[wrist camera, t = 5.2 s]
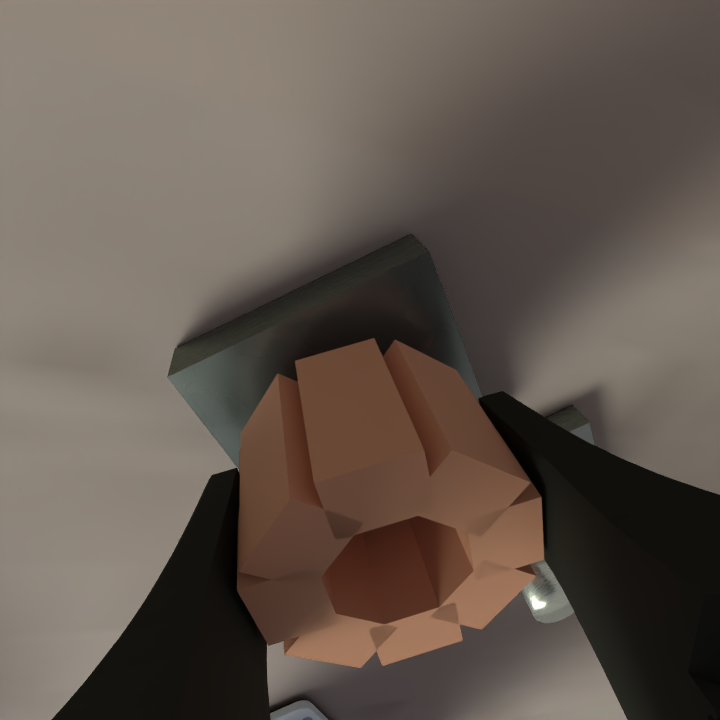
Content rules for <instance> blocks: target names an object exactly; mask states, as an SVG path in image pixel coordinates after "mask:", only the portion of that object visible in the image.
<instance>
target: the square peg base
mask: <svg viewBox="0 0 720 720" xmlns="http://www.w3.org/2000/svg"><path fill="white" fill-rule="evenodd" d="M373 338H374V339H375V341H376V343H377V345H378V347H379V350H380V352H381V354H382V356H384V355H385V353H386V352H387V350H388V349H389V347H390V346H391V344H392V343H393V342H394V340H397V341H399V342H401V343H403V344H405V345H407V346H409V347H411V348H413V349H415V350H417V351H419V352H421V353H423V354H425V355H427V356H429V357H431V358H433V359H435V360H437V361H439V362H441V363H443V364H445V365H447V366H449V367H451V368H453V369H455V370H457V372H458V373H459V375H460V376H461V378H462V379H463V381H464V382H465V383H466V384H467V385H468V387H469V388H470V390H471V391H472V393H473V394H474V396H475V397H476V399H477V400H478V402H479V398H480V397H483V396H482V394H481V391H480V388H479V385H478V383H477V380H476V377H475V375H474V372H473V369H472V367H471V364H470V361H469V358H468V356H467V353H466V350H465V348H464V345H463V342H462V340H461V337H460V334H459V331H458V329H457V326H456V323H455V321H454V318H453V315H452V312H451V310H450V307H449V304H448V302H447V299H446V296H445V294H444V291H443V288H442V285H441V283H440V280H439V277H438V275H437V272H436V269H435V267H434V264H433V261H432V258H431V256H430V253H429V251H428V250H427V249H426V248H425V247H424V246H423V245H422V244H421V243H420V242H419V241H418V239H417V238H416V237H415V236H414V235H413V234H410V235H408V236H406V237H404V238H402V239H400V240H398V241H396V242H394V243H392V244H390V245H387V246H385V247H383V248H381V249H379V250H377V251H375V252H373V253H371V254H369V255H367V256H365V257H363V258H361V259H359V260H357V261H354V262H352V263H350V264H348V265H346V266H344V267H342V268H340V269H338V270H336V271H334V272H332V273H330V274H328V275H326V276H323V277H321V278H319V279H317V280H315V281H313V282H311V283H309V284H307V285H305V286H303V287H301V288H299V289H297V290H295V291H293V292H290V293H288V294H286V295H284V296H282V297H280V298H278V299H276V300H274V301H272V302H270V303H268V304H266V305H264V306H262V307H259V308H257V309H255V310H253V311H251V312H249V313H247V314H245V315H243V316H241V317H239V318H237V319H235V320H233V321H231V322H229V323H226V324H224V325H222V326H220V327H218V328H216V329H214V330H212V331H210V332H208V333H206V334H204V335H202V336H200V337H198V338H195V339H193V340H191V341H189V342H187V343H185V344H183V345H181V346H179V347H177V348H175V350H174V354H173V358H172V361H171V365H170V369H169V373H168V379H169V380H170V381H171V382H172V384H173V385H174V386H175V388H176V389H177V390H178V391H179V393H180V394H181V395H182V397H183V398H184V399H185V400H186V402H187V403H188V404H189V406H190V407H191V408H192V409H193V411H194V412H195V413H196V415H197V416H198V417H199V418H200V420H201V421H202V422H203V424H204V425H205V426H206V428H207V429H208V430H209V431H210V433H211V434H212V435H213V437H214V438H215V439H216V440H217V442H218V443H219V444H220V446H221V447H222V448H223V449H224V451H225V452H226V453H227V455H228V456H229V457H230V458H231V460H232V461H233V462H234V464H235V465H236V466H237V467H238V469H239V450H240V442H241V432H242V430H243V429H244V427H245V425H246V424H247V422H248V421H249V419H250V417H251V416H252V414H253V412H254V411H255V409H256V408H257V406H258V404H259V403H260V401H261V400H262V398H263V396H264V395H265V393H266V391H267V390H268V388H269V387H270V385H271V383H272V382H273V380H274V378H275V377H276V375H277V374H281V375H283V376H285V377H288V378H290V379H292V380H295V381H297V382H298V378H297V372H296V365H295V361H296V360H300V359H303V358H307V357H310V356H313V355H317V354H320V353H324V352H327V351H331V350H334V349H338V348H341V347H345V346H348V345H352V344H355V343H359V342H362V341H366V340H369V339H373Z"/></svg>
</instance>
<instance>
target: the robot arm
mask: <svg viewBox="0 0 720 720" xmlns="http://www.w3.org/2000/svg"><path fill="white" fill-rule="evenodd" d="M479 404H480V406H481V407H482V409H483V410H484V412H485V413H486V415H487V416H488V418H489V419H490V421H491V422H492V424H493V425H494V427H495V428H496V430H497V431H498V432H499V434H500V435H501V437H502V438H503V440H504V441H505V443H506V444H507V446H508V447H509V449H510V450H511V452H512V453H513V455H514V456H515V458H516V459H517V461H518V462H519V464H520V465H521V467H522V468H523V470H524V471H525V473H526V474H527V476H528V477H529V479H530V480H531V482H532V483H533V485H534V486H535V488H536V489H537V491H538V492H539V494H540V495H541V497H542V520H543V543H544V560H545V561H546V563H547V565H548V566H549V568H550V569H551V571H552V572H553V574H554V576H555V577H556V579H557V581H558V582H559V584H560V586H561V587H562V589H563V591H564V593H565V595H566V597H567V599H568V601H569V603H570V605H571V606H572V608H573V610H574V612H575V614H576V616H577V618H578V620H579V622H580V624H581V626H582V628H583V630H584V632H585V634H586V636H587V638H588V640H589V642H590V644H591V646H592V648H593V650H594V652H595V653H596V655H597V657H598V659H599V661H600V663H601V665H602V667H603V669H604V672H605V674H606V676H607V678H608V680H609V682H610V684H611V686H612V688H613V690H614V692H615V694H616V697H617V699H618V701H619V703H620V705H621V707H622V709H623V711H624V713H625V715H626V717H627V719H628V720H720V495H719V494H715V493H712V492H709V491H706V490H703V489H700V488H697V487H694V486H691V485H688V484H685V483H682V482H679V481H676V480H673V479H671V478H668V477H665V476H663V475H660V474H657V473H655V472H652V471H650V470H648V469H645V468H643V467H640V466H638V465H636V464H633V463H631V462H628V461H626V460H624V459H622V458H619V457H617V456H615V455H613V454H611V453H609V452H607V451H605V450H603V449H601V448H599V447H597V446H595V445H593V444H591V443H589V442H587V441H585V440H583V439H581V438H579V437H578V436H576V435H574V434H572V433H571V432H569V431H567V430H565V429H564V428H562V427H560V426H558V425H557V424H555V423H553V422H552V421H550V420H548V419H547V418H545V417H543V416H542V415H540V414H538V413H537V412H535V411H534V410H532V409H530V408H529V407H527V406H526V405H524V404H522V403H521V402H519V401H518V400H516V399H514V398H513V397H511V396H510V395H508V394H506V393H505V392H503V391H501V392H497V393H494V394H490V395H487V396H483V397H480V398H479ZM239 507H240V474H239V472H238V470H237V468H235V469H231V470H228V471H225V472H221V473H218V474H214V475H212V476H211V477H210V479H209V481H208V483H207V485H206V487H205V489H204V491H203V493H202V496H201V498H200V500H199V502H198V504H197V506H196V508H195V510H194V512H193V515H192V517H191V519H190V521H189V523H188V525H187V527H186V529H185V531H184V533H183V534H182V536H181V538H180V540H179V542H178V544H177V546H176V548H175V550H174V552H173V554H172V555H171V557H170V559H169V561H168V563H167V564H166V566H165V568H164V569H163V571H162V573H161V575H160V576H159V578H158V580H157V582H156V583H155V585H154V587H153V588H152V590H151V592H150V593H149V595H148V596H147V598H146V600H145V601H144V603H143V604H142V606H141V607H140V609H139V610H138V612H137V613H136V615H135V616H134V618H133V619H132V621H131V622H130V624H129V625H128V626H127V628H126V629H125V631H124V632H123V633H122V635H121V636H120V638H119V639H118V640H117V641H116V643H115V644H114V645H113V647H112V648H111V649H110V650H109V652H108V653H107V654H106V656H105V657H104V658H103V659H102V661H101V662H100V663H99V665H98V666H97V667H96V668H95V670H94V671H93V672H92V673H91V675H90V676H89V677H88V679H87V680H86V681H85V682H84V683H83V685H82V686H81V687H80V688H79V689H78V690H77V692H76V693H75V694H74V695H73V696H72V697H71V698H70V700H69V701H68V702H67V703H66V704H65V705H64V707H63V708H62V709H61V710H60V711H59V712H58V713H57V714H56V715H55V717H54V718H53V719H52V720H328V719H327V718H326V717H325V716H324V715H323V714H322V713H321V712H320V711H319V710H318V709H317V708H316V707H315V706H314V705H313V704H312V703H311V702H309V701H306V700H301V701H297V702H295V703H292V704H290V705H288V706H286V707H283V708H281V709H279V710H277V711H274V712H272V713H270V708H269V696H268V684H267V642H266V640H265V639H264V637H263V635H262V633H261V632H260V630H259V628H258V626H257V625H256V623H255V621H254V619H253V618H252V616H251V614H250V612H249V611H248V609H247V607H246V605H245V604H244V602H243V600H242V599H241V597H240V595H239V593H238V592H237V554H238V515H239Z"/></svg>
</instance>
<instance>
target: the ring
mask: <svg viewBox="0 0 720 720" xmlns="http://www.w3.org/2000/svg"><path fill="white" fill-rule="evenodd" d="M295 365H296V372H297V378H298V382H297V381H295V380H292V379H290V378H288V377H285V376H283V375H281V374H277V375H276V377H275V378H274V380H273V382H272V383H271V385H270V387H269V388H268V390H267V391H266V393H265V395H264V396H263V398H262V400H261V401H260V403H259V404H258V406H257V408H256V409H255V411H254V412H253V414H252V416H251V417H250V419H249V421H248V422H247V424H246V425H245V427H244V429H243V430H242V432H241V442H240V450H239V474H240V507H239V515H238V554H237V592H238V593H239V595H240V597H241V599H242V600H243V602H244V604H245V605H246V607H247V609H248V611H249V612H250V614H251V616H252V618H253V619H254V621H255V623H256V625H257V626H258V628H259V630H260V632H261V633H262V635H263V637H264V639H265V640H266V642H267V644H268V645H272V644H276V643H279V642H282V641H284V655H288V656H294V657H300V658H306V659H311V660H317V661H323V662H328V663H334V664H340V665H346V666H351V667H357V668H361V667H362V666H363V665H364V664H365V663H366V662H367V661H368V659H369V658H370V657H371V656H372V655H373V654H374V653H375V652H376V651H377V653H378V656H379V659H380V661H381V664H382V666H384V665H387V664H391V663H394V662H397V661H400V660H403V659H406V658H410V657H413V656H416V655H419V654H422V653H425V652H428V651H432V650H435V649H438V648H441V647H444V646H447V645H450V644H454V643H457V642H460V641H463V639H462V634H461V629H460V625H464V626H468V627H472V628H477V629H481V630H482V629H483V628H484V627H485V626H486V625H487V624H488V623H489V622H490V621H491V620H492V619H493V618H494V617H495V616H496V615H497V614H498V613H499V612H500V611H501V610H502V609H503V608H504V607H505V606H506V605H507V604H508V603H509V602H510V601H511V600H512V599H513V598H514V597H515V596H516V595H517V594H518V593H519V592H520V591H521V590H522V589H523V588H524V587H525V586H526V585H527V584H528V583H529V582H530V581H531V580H532V579H533V578H535V577H536V574H535V573H534V571H533V569H532V567H531V565H530V564H532V563H535V562H538V561H541V560H544V543H543V520H542V497H541V495H540V494H539V492H538V491H537V489H536V488H535V486H534V485H533V483H532V482H531V480H530V479H529V477H528V476H527V474H526V473H525V471H524V470H523V468H522V467H521V465H520V464H519V462H518V461H517V459H516V458H515V456H514V455H513V453H512V452H511V450H510V449H509V447H508V446H507V444H506V443H505V441H504V440H503V438H502V437H501V435H500V434H499V432H498V431H497V430H496V428H495V427H494V425H493V424H492V422H491V421H490V419H489V418H488V416H487V415H486V413H485V412H484V410H483V409H482V407H481V406H480V404H479V402H478V400H477V399H476V397H475V396H474V394H473V393H472V391H471V390H470V388H469V387H468V385H467V384H466V383H465V382H464V381H463V379H462V378H461V376H460V375H459V373H458V372H457V370H455V369H453V368H451V367H449V366H447V365H445V364H443V363H441V362H439V361H437V360H435V359H433V358H431V357H429V356H427V355H425V354H423V353H421V352H419V351H417V350H415V349H413V348H411V347H409V346H407V345H405V344H403V343H401V342H399V341H397V340H394V342H393V343H392V344H391V346H390V347H389V349H388V350H387V352H386V353H385V355H384V356H382V354H381V352H380V350H379V347H378V345H377V343H376V341H375V339H374V338H373V339H369V340H366V341H362V342H359V343H355V344H352V345H348V346H345V347H341V348H338V349H334V350H331V351H327V352H324V353H320V354H317V355H313V356H310V357H307V358H303V359H300V360H296V361H295Z"/></svg>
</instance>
